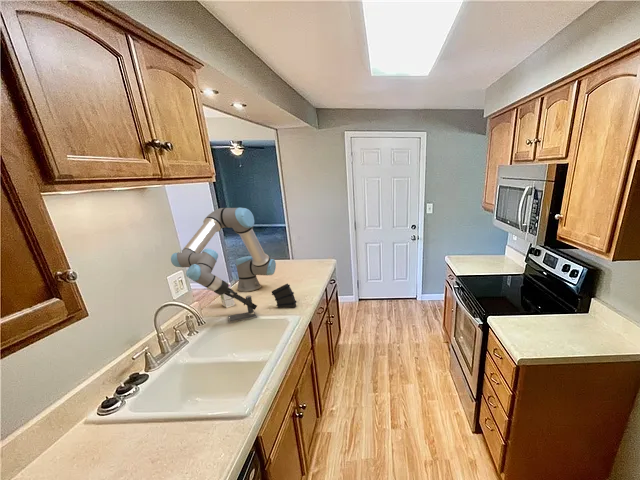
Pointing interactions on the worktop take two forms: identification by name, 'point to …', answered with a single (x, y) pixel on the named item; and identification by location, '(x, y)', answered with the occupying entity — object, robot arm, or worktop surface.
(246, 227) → the robot arm
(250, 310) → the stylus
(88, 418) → the worktop surface
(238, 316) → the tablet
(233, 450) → the worktop surface
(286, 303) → the black ridged block
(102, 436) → the worktop surface
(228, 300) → the syrup box
